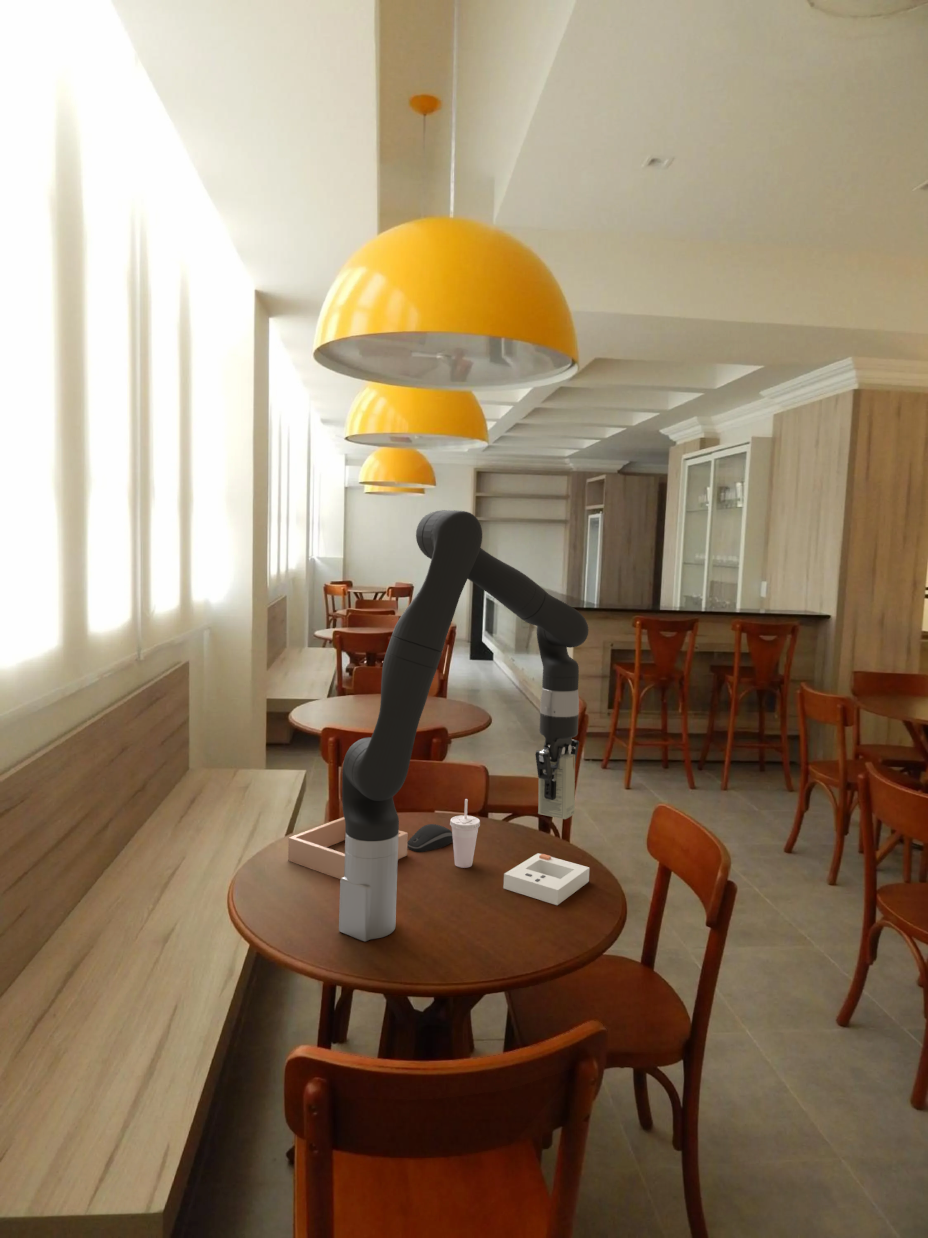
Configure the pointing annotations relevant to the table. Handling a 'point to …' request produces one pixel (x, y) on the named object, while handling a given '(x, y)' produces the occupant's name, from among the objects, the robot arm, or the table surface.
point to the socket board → (546, 878)
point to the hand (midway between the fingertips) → (556, 795)
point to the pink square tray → (318, 857)
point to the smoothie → (464, 838)
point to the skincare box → (560, 790)
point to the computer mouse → (430, 838)
